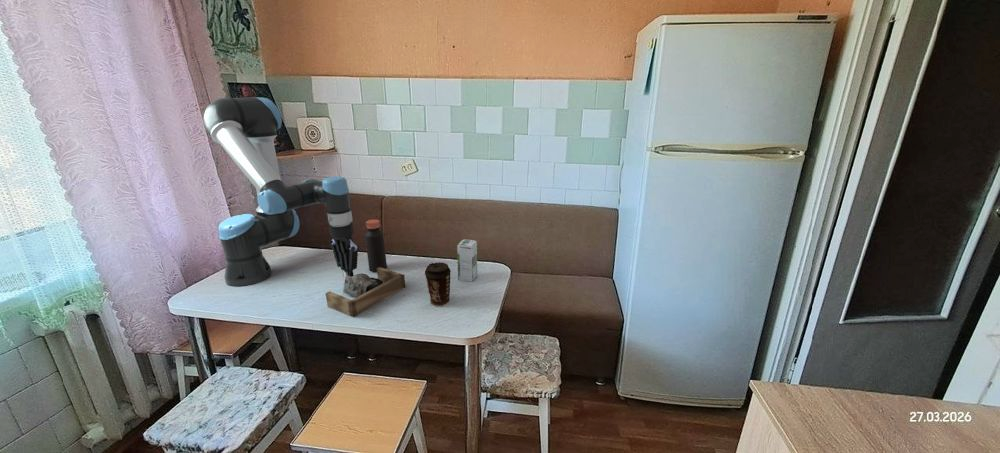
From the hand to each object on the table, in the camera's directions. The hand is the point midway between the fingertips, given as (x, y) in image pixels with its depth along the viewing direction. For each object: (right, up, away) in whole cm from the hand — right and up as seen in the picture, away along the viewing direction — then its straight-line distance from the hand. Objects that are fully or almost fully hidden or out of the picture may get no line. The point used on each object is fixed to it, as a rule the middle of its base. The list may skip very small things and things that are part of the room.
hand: (349, 286), depth 140 cm
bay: (+7, -3, -4) cm, 9 cm away
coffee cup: (+33, -4, -7) cm, 34 cm away
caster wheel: (+6, -2, -1) cm, 7 cm away
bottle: (+5, +4, +16) cm, 18 cm away
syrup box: (+41, +2, +9) cm, 42 cm away
